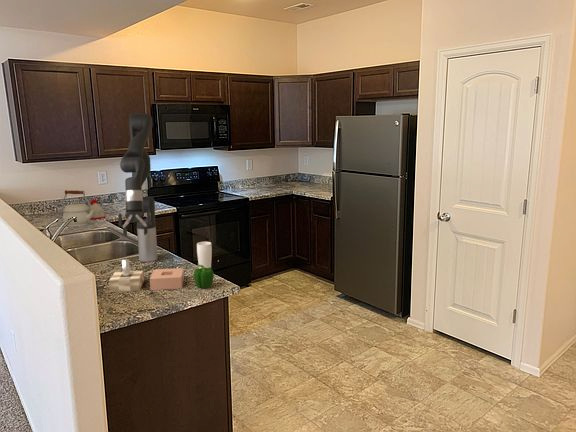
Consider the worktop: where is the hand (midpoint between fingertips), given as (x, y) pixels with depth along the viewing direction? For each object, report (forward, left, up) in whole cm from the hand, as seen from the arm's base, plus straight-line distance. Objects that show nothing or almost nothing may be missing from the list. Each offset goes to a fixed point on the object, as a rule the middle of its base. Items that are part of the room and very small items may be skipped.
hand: (135, 235), depth 205 cm
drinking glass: (+5, +31, -19) cm, 37 cm away
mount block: (+16, -2, -19) cm, 25 cm away
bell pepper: (+22, +31, -19) cm, 42 cm away
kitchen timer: (-149, -56, -19) cm, 160 cm away
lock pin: (+16, -2, -19) cm, 25 cm away
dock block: (+16, +15, -19) cm, 29 cm away
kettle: (-125, -61, -19) cm, 141 cm away
